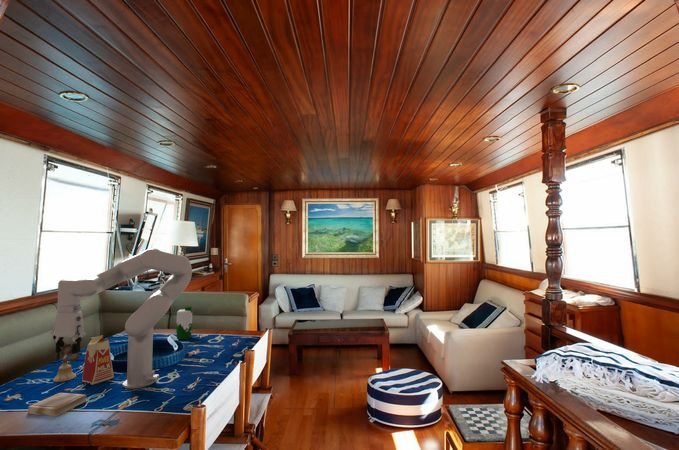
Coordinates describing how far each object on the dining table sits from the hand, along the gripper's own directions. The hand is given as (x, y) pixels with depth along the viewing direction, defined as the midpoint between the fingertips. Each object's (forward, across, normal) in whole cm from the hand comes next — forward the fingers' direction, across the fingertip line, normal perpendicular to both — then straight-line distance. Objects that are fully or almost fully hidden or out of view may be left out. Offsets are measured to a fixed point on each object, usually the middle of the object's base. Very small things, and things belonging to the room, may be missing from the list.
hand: (67, 352), depth 145 cm
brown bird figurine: (+3, -2, +1) cm, 3 cm away
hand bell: (+17, +16, -13) cm, 27 cm away
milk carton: (+17, 0, -15) cm, 22 cm away
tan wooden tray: (+17, -9, +11) cm, 22 cm away
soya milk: (+17, +4, -83) cm, 85 cm away
